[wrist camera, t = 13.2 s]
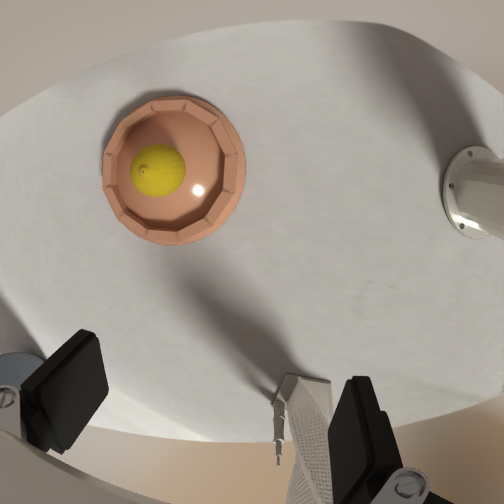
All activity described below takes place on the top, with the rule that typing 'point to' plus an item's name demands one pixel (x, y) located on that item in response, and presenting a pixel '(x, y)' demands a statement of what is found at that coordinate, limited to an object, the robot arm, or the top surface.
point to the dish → (196, 178)
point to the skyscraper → (306, 436)
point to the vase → (17, 368)
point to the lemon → (157, 170)
